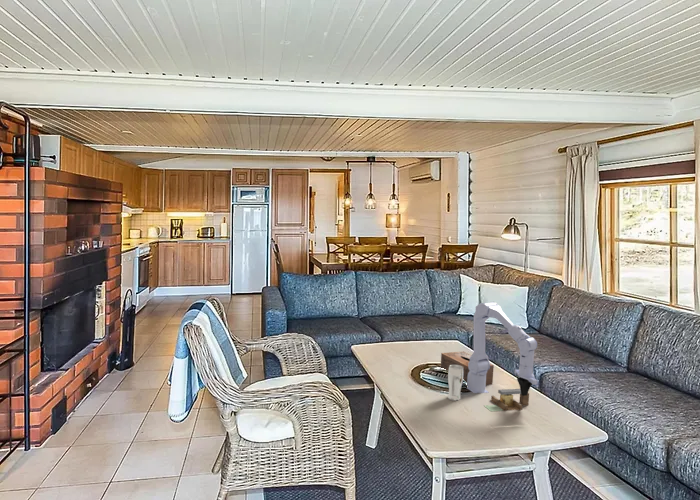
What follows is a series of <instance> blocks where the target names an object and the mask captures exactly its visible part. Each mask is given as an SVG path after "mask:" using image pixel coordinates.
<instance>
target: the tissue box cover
mask: <svg viewBox="0 0 700 500" xmlns="http://www.w3.org/2000/svg"><path fill="white" fill-rule="evenodd" d="M440 353H441V355H440V356H441V358H440V369H441V368H444V369H446V370H449V365H460V366H462V367H463V371H464V375H463V379H464V380H465V381H466V382H467V376H468V373H469V371H470V370H469V368H468V363H469V361H470V357H471V355H472V354H470V353H468V352H466V351H452V352H440ZM494 368H495V367H494V364H492V363H490V368H489V370H488V371H487V373H486V386H487V385H488V386H489V385H493V383H494Z"/></svg>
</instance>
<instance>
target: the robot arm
mask: <svg viewBox="0 0 700 500" xmlns="http://www.w3.org/2000/svg"><path fill="white" fill-rule="evenodd" d="M490 318H493V319H496V320H497V321H498V322H499V323H500V324H501V325H502V326H503V327H504V328H505V329H507V331H508V332H507V333H508V335H509V336H510V337H511V338H512V339H513V340H514V341H515V342H516V344H517V347H518V349H519V367H518V369H514V375H517V376H518V378H516V380H517V382H518V385H519V389H520V390H521V395H523V396H527V394H528V393H529V391H530V389H531V387H532V385H533V386H534V385H538V379H536V377H535V374H533V372H534V358H535V351H536V350H537V348H538V342H537V340H536V338H534V337H532V336H530V335H529V334H527V333H526V332H525V331H524V330H523V328H522V327H521V326H520V325H518V324H514V323H513V321H511V319H510V318H509V317H508V316H507V315H506V313H505V312H504V311H503V309H502V307H501V306H500V305H499V304H498V302H495V301H490V302H480V303H478V304H476V306H475V312H474V314H473V353H472V354H470V355H471V357H470V361H469V363H468V368H469V370H470V371H469V373H468V376H467V385H466V386H468V387H467V388H466V389H467V390H468V391H470V392H472V393H473V394H488V393H489V391H488V390H487V389H486V386H487V385H486V373H487V371H488V370H489V368H490V364H491V363H490V360H489V355H487V353H486V321H487V320H488V319H490Z"/></svg>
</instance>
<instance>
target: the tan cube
mask: <svg viewBox="0 0 700 500" xmlns="http://www.w3.org/2000/svg"><path fill="white" fill-rule="evenodd" d="M499 395H500V397H499V400H500V401H502V402H503V403H504V404H506V405H507V406H513V399H514V394H507V395H501V394H500V393H499Z"/></svg>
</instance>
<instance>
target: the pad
mask: <svg viewBox="0 0 700 500" xmlns="http://www.w3.org/2000/svg"><path fill="white" fill-rule="evenodd" d="M484 407H485V408H486V409H487V410H489V411H490V412H503V411H504V410H503V409H501V408H500V407H499V406H497V405H496V404H492V405H491V404H490V405H489V404H488V405H484Z"/></svg>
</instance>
